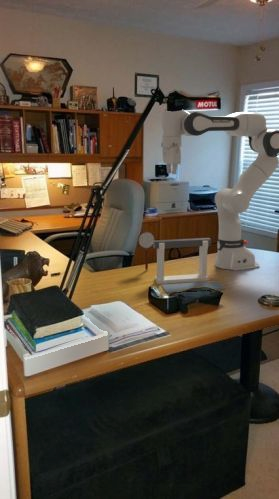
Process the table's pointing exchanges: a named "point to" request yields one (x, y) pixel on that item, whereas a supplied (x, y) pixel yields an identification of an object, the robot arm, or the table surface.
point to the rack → (182, 278)
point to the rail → (181, 242)
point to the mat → (183, 286)
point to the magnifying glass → (146, 244)
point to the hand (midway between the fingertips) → (171, 173)
